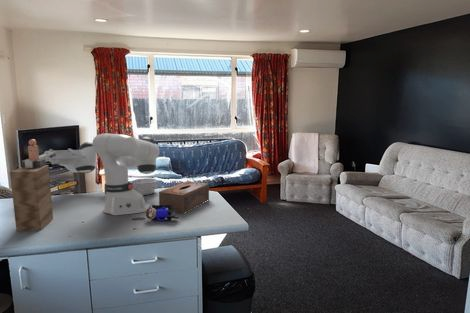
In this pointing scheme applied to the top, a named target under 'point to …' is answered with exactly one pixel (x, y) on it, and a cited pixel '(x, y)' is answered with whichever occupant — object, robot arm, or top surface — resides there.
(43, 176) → the stand
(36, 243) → the top surface
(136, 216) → the top surface
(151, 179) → the paper bowls
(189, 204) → the tissue box cover
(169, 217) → the character figurine
